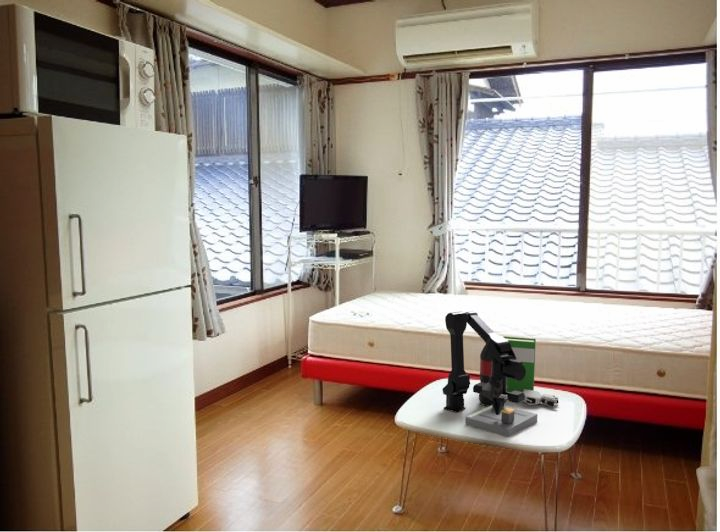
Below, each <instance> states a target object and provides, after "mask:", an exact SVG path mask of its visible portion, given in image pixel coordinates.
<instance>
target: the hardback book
mask: <svg viewBox="0 0 720 532" xmlns="http://www.w3.org/2000/svg"><path fill="white" fill-rule="evenodd" d="M501 336H502V337H504V338H505V339H506V340H508V341H509V342H510V344H511V347H512V350H513V352H514V354H515V356H516V358H517V359H516V361H521V362H522V365H523V366H524V367H525V370H526V375H525V377H524V378H523V379H522V380H521V381H518V380H515V379H512V378H509V379H507V387H508V390H507V392H512V391H515V390H516V391H520V392H523V391H525V390H524V389H526V390H532V391H535V369H536V368H535V365H536V363H535V362H536V344H537V343H536V341H537V340H536V338H533V337H532V338H531V337H530V338H529V337H519V336H505V335H501ZM504 356H509V355H504ZM504 356H501V357H504Z"/></svg>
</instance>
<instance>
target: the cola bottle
mask: <svg viewBox="0 0 720 532" xmlns="http://www.w3.org/2000/svg"><path fill="white" fill-rule="evenodd" d="M489 356H491V354H490V352H489V351H488V349H487V348H486V344H485V345H484V346H483V348H482V350H481V352H480V355H479V359H480V360H479V361H480V362H479V383H480V382H483V383H488V381H489V377H490V376H491V367H492V361H491V360H488V359H487V358H488V357H489ZM478 400H479V403H480V404H481V405H483V406H485V407H489V406H491V405H492V402H491V400H490V399H489V398H487V397H484V396H483V392H481V393H480V394H479V393H478Z"/></svg>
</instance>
